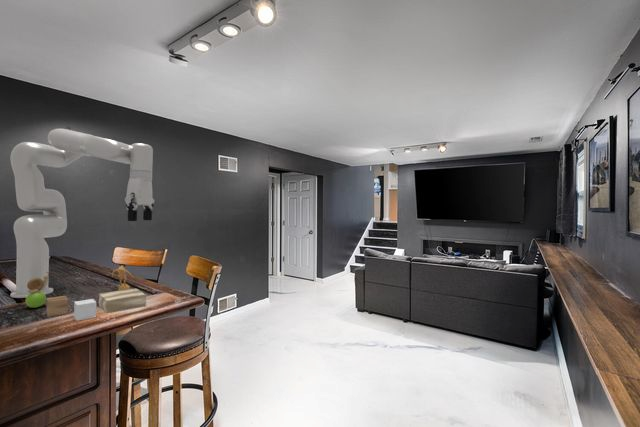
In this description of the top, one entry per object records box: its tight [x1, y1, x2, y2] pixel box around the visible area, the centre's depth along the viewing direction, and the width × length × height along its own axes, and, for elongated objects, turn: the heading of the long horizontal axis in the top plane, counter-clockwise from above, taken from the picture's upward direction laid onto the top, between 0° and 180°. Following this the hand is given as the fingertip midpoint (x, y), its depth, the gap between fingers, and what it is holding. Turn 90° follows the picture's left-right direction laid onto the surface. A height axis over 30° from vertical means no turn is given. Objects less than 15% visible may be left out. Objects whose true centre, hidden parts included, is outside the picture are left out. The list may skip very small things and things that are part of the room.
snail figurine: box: [25, 271, 50, 309], centre depth 110 cm, size 5×6×12 cm
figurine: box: [111, 265, 133, 291], centre depth 129 cm, size 8×6×12 cm
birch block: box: [98, 288, 147, 314], centre depth 115 cm, size 12×12×4 cm
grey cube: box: [73, 298, 97, 322], centre depth 102 cm, size 5×5×5 cm
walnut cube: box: [45, 295, 69, 318], centre depth 105 cm, size 5×5×5 cm
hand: (140, 220), depth 121 cm, fingers open, 9 cm apart
